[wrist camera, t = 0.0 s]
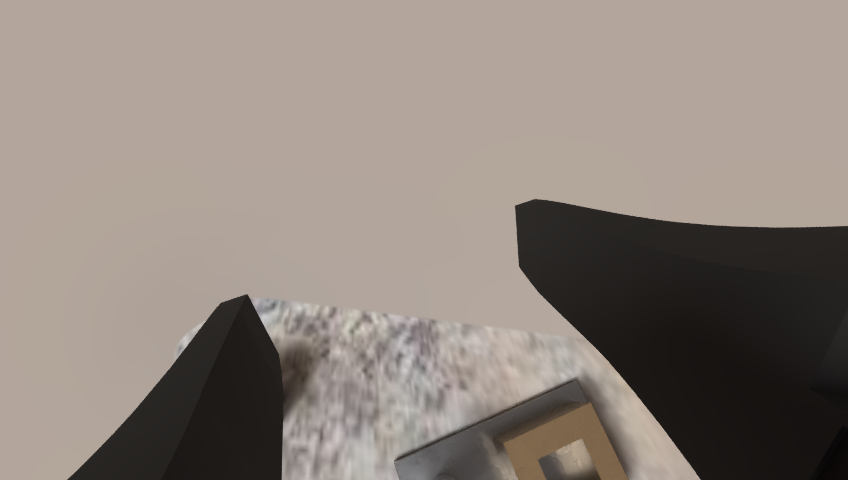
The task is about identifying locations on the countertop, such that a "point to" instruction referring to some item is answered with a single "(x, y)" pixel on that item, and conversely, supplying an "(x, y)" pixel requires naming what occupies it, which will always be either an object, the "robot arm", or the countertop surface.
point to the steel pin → (444, 477)
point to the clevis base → (481, 449)
